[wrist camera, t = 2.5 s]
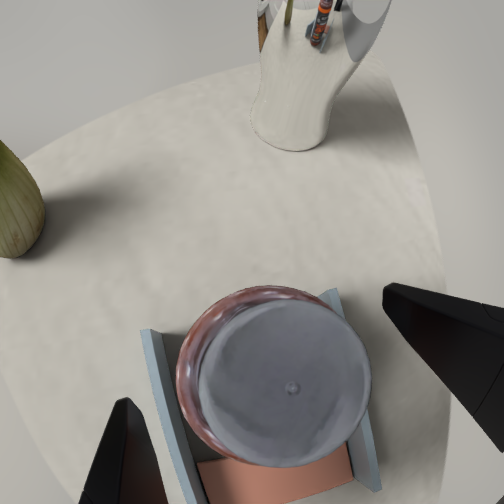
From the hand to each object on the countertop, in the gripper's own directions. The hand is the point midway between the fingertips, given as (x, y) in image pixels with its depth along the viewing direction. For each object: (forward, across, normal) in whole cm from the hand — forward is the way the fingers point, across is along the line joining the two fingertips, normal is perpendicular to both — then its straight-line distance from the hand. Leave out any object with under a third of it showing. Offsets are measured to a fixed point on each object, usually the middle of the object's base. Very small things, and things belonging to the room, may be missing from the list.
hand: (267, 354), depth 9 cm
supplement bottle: (+5, 0, +7) cm, 9 cm away
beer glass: (+16, -10, -4) cm, 19 cm away
